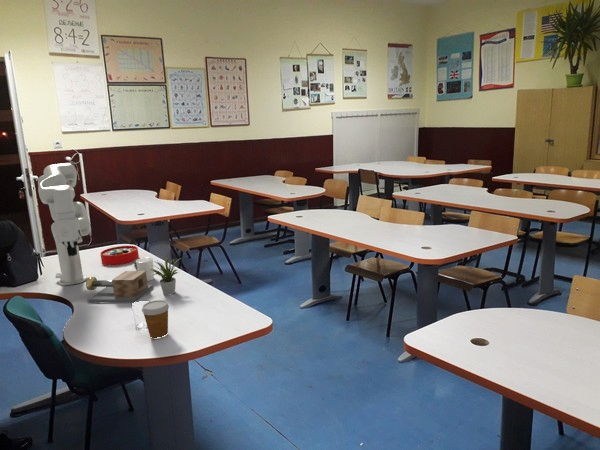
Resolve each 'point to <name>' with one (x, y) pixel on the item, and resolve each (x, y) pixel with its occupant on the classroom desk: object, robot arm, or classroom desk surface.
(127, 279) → the block
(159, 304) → the disposable coffee cup
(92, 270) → the classroom desk surface
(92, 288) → the shaft
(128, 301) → the base mat
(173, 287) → the house plant
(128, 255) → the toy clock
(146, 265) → the white cup
